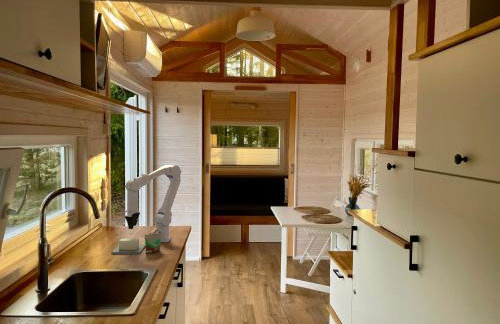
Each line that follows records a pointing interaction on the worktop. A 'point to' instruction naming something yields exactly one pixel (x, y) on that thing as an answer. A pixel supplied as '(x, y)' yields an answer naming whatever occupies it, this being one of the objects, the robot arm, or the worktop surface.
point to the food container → (153, 242)
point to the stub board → (138, 251)
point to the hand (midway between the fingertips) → (132, 227)
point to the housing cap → (128, 244)
